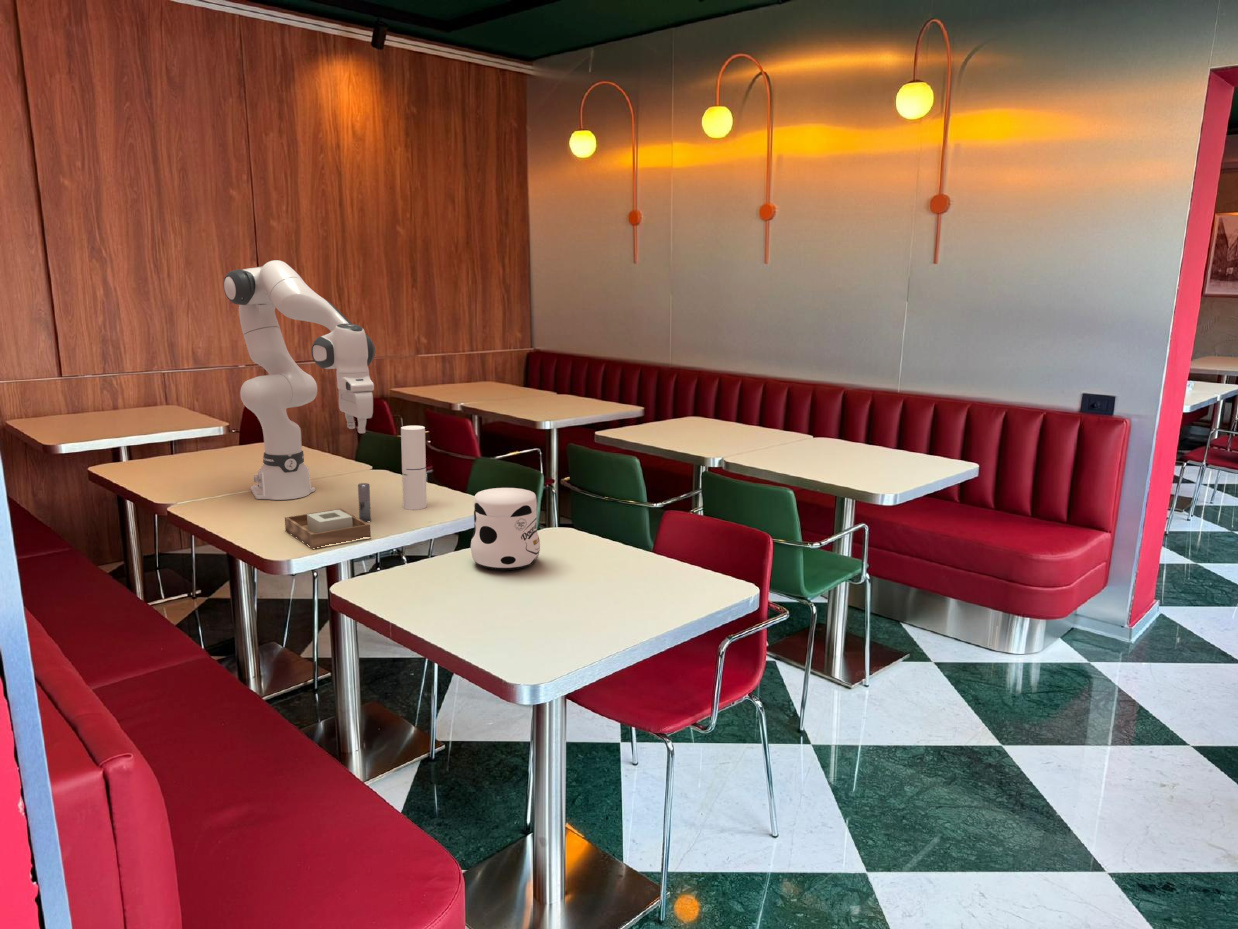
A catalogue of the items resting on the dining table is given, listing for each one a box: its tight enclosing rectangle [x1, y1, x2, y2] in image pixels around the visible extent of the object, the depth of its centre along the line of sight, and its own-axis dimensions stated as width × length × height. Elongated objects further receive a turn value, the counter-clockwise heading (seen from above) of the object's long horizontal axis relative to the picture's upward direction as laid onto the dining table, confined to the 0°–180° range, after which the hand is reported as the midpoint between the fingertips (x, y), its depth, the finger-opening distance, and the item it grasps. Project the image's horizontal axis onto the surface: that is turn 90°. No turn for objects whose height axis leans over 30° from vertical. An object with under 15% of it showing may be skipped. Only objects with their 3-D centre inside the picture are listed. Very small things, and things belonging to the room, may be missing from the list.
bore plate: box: [306, 509, 353, 534], centre depth 236 cm, size 9×9×5 cm
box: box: [284, 508, 372, 549], centre depth 238 cm, size 20×16×4 cm
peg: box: [357, 482, 372, 523], centre depth 252 cm, size 3×3×11 cm
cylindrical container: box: [400, 425, 428, 511], centre depth 267 cm, size 7×7×25 cm
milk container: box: [470, 487, 541, 571], centre depth 217 cm, size 17×17×18 cm
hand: (356, 430), depth 247 cm, fingers open, 8 cm apart
